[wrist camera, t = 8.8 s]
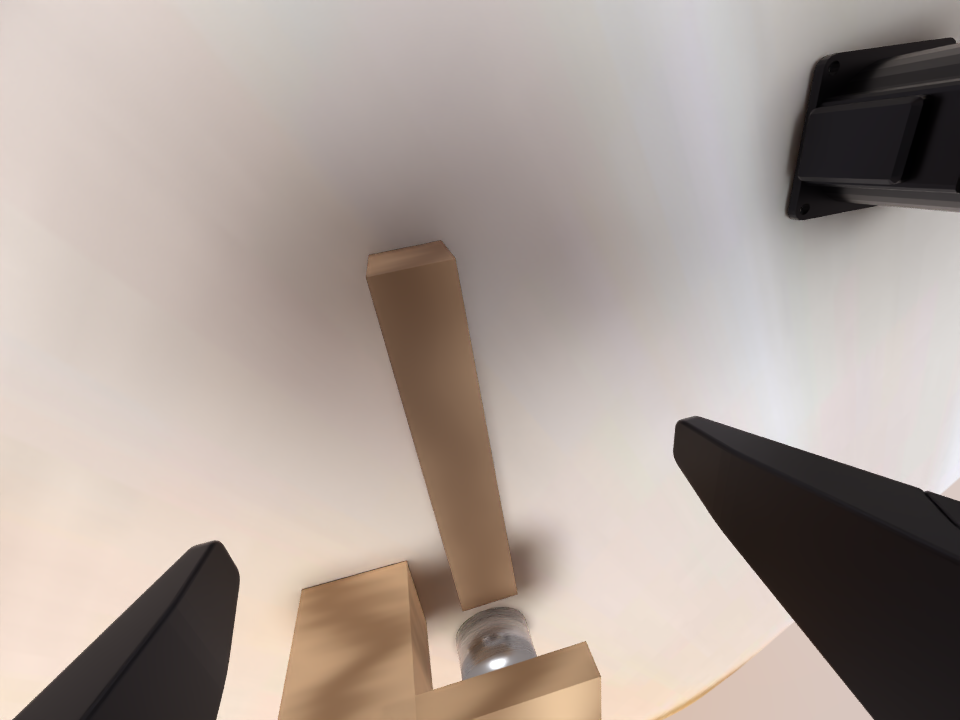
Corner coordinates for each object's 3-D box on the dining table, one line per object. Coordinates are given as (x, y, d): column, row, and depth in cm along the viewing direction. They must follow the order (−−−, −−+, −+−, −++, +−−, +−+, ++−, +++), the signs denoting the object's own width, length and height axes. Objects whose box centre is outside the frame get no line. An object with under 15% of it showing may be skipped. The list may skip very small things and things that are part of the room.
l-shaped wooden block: (536, 525, 26) (612, 703, 17) (542, 587, 28) (611, 767, 20) (301, 590, 24) (258, 824, 15) (332, 650, 26) (310, 877, 18)
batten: (440, 239, 18) (455, 258, 14) (498, 534, 26) (517, 594, 22) (369, 253, 17) (365, 277, 14) (451, 548, 25) (462, 611, 22)
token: (522, 598, 28) (537, 642, 26) (527, 640, 31) (541, 686, 28) (451, 618, 28) (458, 666, 25) (461, 660, 30) (468, 709, 27)
